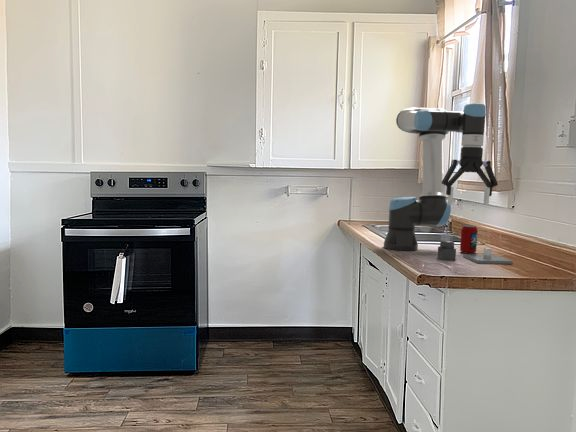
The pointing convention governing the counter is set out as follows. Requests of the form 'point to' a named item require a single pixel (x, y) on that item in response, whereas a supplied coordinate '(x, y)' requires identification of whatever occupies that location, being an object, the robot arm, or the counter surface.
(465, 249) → the beverage can
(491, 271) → the counter surface
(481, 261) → the hub
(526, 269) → the counter surface
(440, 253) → the knob
